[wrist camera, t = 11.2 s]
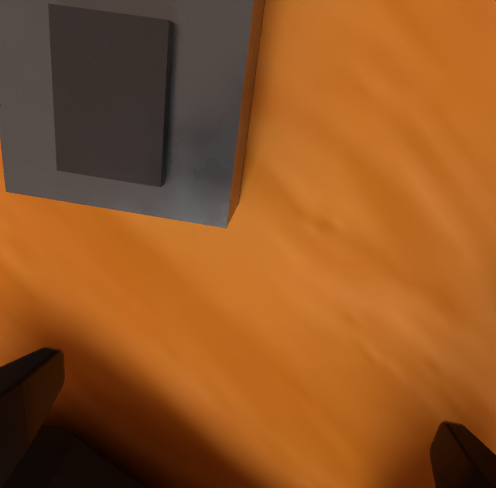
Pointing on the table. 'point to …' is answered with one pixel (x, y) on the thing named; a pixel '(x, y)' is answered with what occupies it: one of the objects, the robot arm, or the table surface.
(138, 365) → the table surface
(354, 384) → the table surface
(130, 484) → the portable speaker
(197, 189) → the panel
